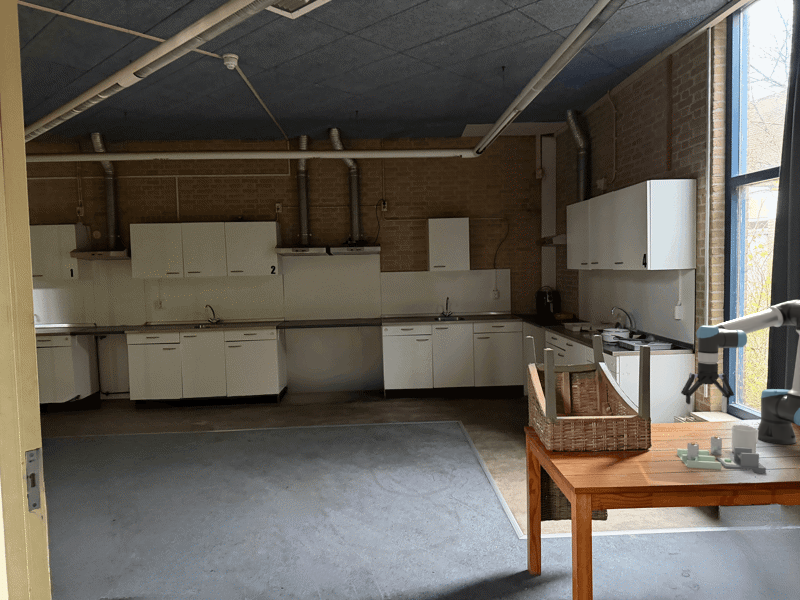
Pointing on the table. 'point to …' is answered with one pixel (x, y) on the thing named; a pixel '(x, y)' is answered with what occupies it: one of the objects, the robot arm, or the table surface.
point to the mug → (744, 437)
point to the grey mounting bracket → (743, 460)
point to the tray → (703, 462)
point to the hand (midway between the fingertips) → (707, 411)
